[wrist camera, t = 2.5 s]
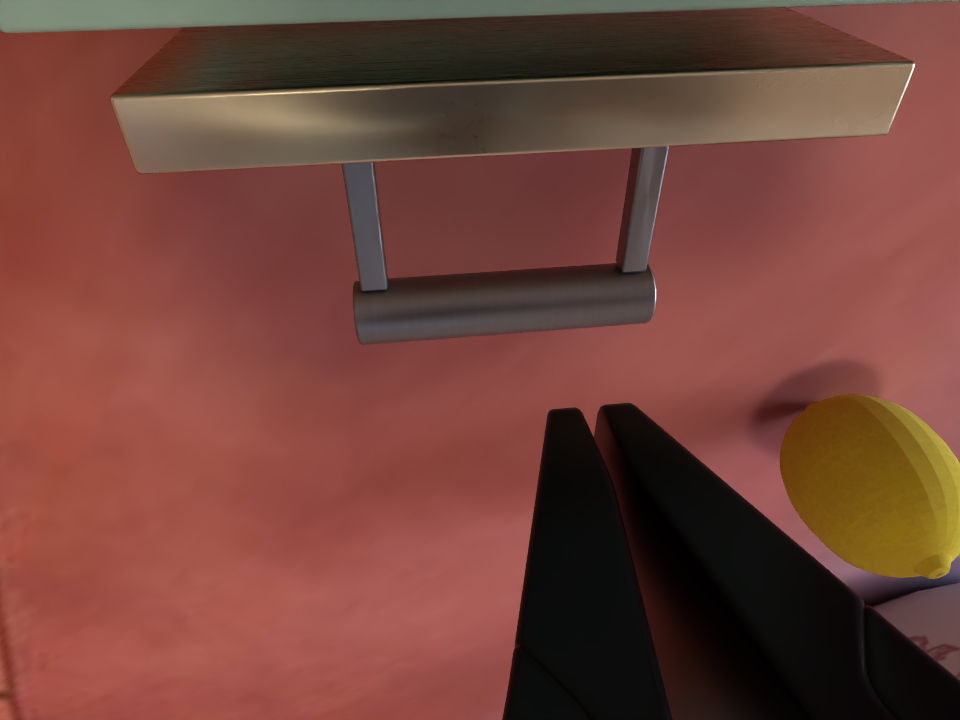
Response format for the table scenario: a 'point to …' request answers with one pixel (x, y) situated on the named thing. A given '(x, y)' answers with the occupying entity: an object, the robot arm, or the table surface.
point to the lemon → (874, 485)
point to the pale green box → (331, 11)
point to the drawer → (501, 126)
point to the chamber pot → (929, 621)
